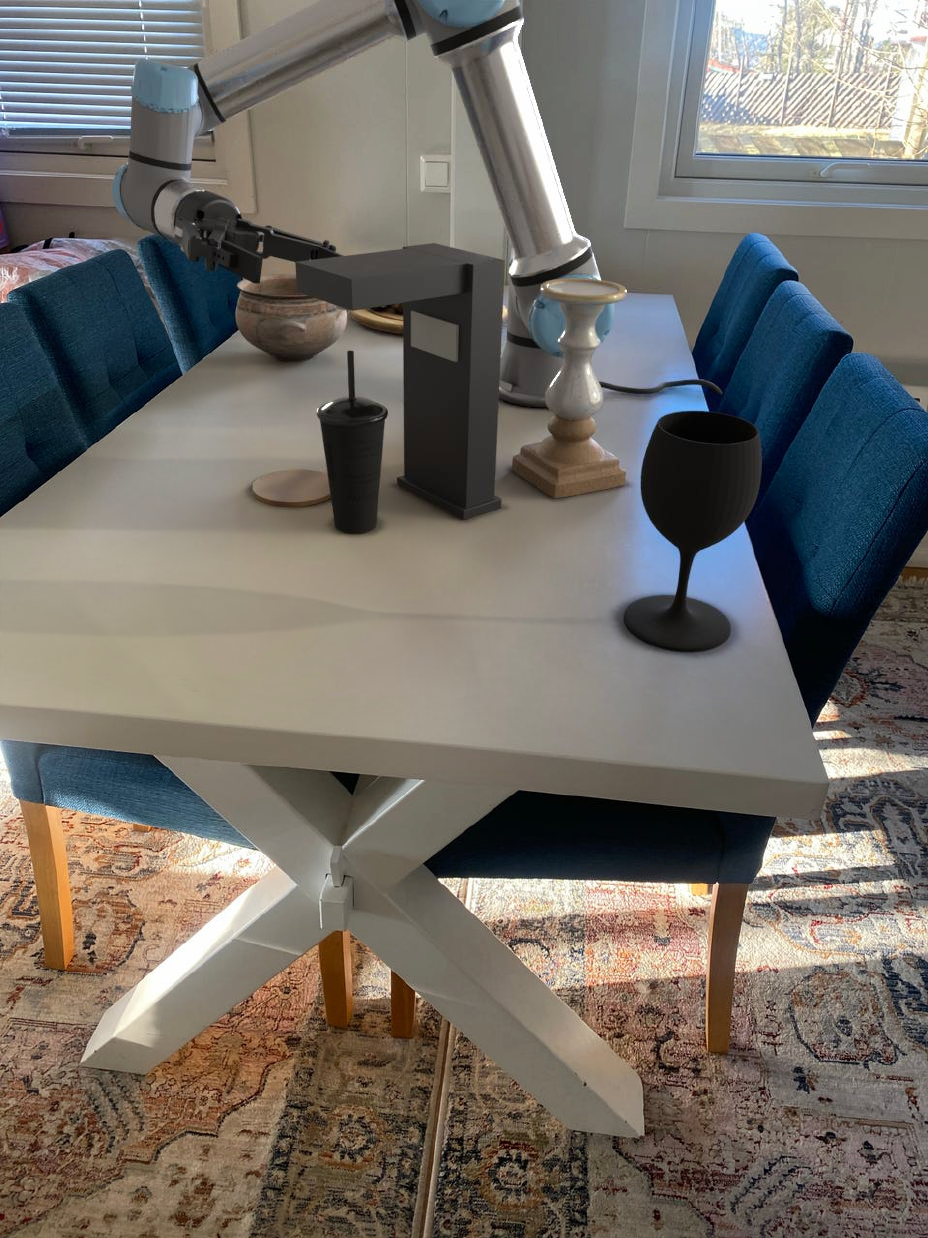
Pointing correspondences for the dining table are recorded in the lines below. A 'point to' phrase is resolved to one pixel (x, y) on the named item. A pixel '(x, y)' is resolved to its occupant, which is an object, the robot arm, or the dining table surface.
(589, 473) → the candle holder
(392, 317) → the wooden plate
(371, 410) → the drinking cup
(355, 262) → the coffee maker
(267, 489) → the coaster
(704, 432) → the wine glass
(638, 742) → the dining table surface
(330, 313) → the cooking pot
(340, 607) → the dining table surface
